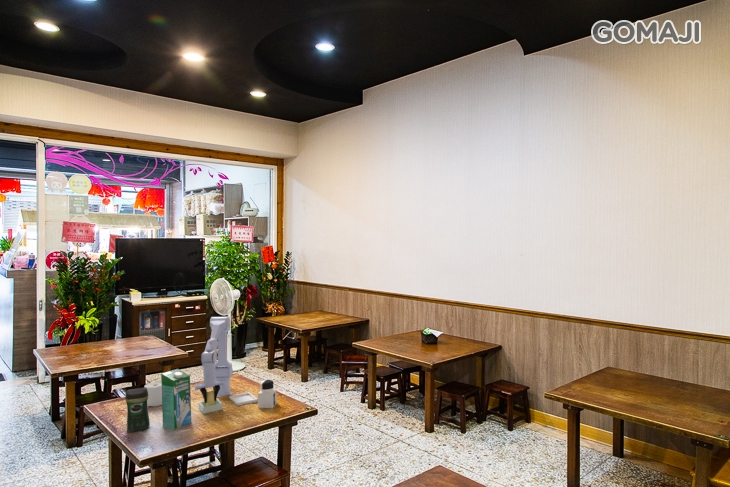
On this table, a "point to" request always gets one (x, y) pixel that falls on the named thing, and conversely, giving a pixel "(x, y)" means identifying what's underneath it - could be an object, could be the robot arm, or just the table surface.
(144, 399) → the coffee jar
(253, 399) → the tray
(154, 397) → the toilet tissue
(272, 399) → the container
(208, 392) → the peg
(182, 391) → the milk carton
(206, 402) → the robot arm
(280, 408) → the table surface
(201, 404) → the square storage bin
